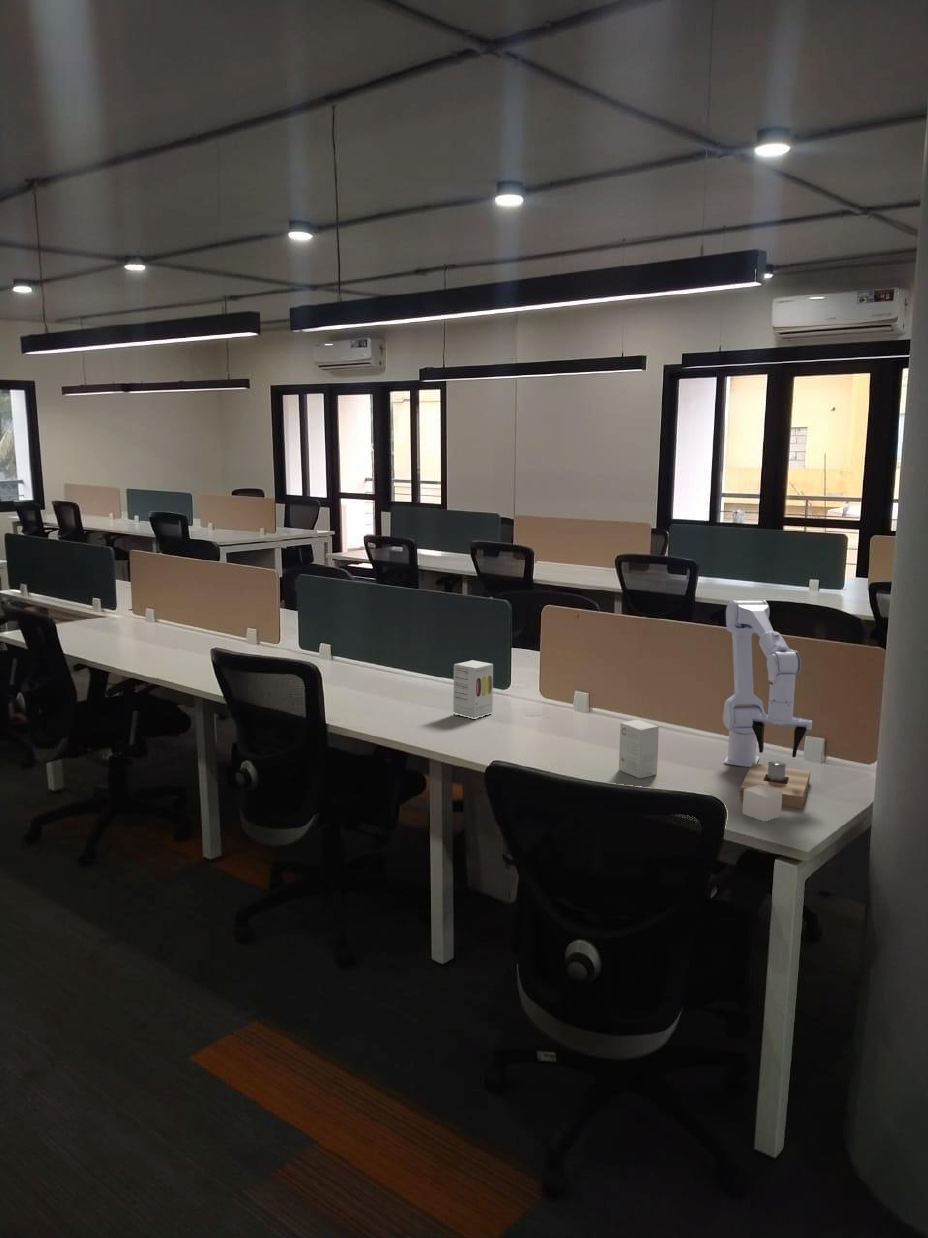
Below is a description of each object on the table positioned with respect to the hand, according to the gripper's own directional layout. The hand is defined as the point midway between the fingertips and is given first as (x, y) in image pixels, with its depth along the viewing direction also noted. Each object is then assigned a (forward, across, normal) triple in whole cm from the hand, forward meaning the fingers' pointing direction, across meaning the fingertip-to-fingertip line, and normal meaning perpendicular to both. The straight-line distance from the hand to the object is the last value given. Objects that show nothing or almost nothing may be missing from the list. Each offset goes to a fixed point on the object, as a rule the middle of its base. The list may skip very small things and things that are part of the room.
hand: (777, 754), depth 218 cm
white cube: (+10, -1, -18) cm, 21 cm away
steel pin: (+9, 0, 0) cm, 9 cm away
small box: (+10, -34, -2) cm, 35 cm away
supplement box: (+10, -96, +29) cm, 101 cm away
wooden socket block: (+9, 0, 0) cm, 9 cm away
